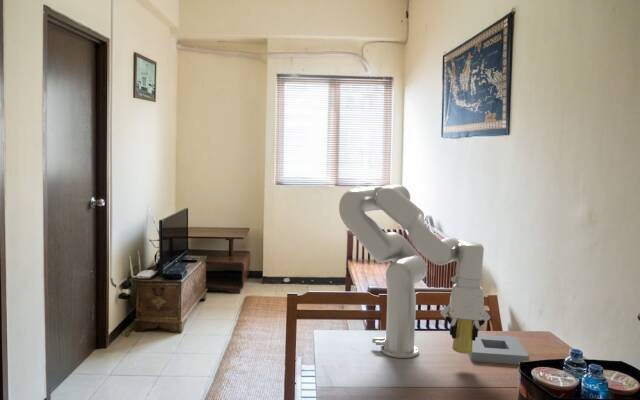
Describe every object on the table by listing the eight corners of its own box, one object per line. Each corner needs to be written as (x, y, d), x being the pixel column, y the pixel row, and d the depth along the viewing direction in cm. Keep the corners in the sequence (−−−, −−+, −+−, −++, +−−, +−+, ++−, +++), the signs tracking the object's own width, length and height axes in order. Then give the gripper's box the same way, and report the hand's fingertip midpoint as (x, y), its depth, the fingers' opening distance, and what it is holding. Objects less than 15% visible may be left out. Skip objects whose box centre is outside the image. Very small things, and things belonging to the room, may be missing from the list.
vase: (472, 355, 170) (476, 310, 168) (452, 352, 171) (456, 308, 169) (471, 347, 176) (475, 304, 174) (451, 345, 177) (455, 302, 175)
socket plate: (471, 361, 179) (471, 352, 179) (463, 341, 197) (464, 333, 197) (528, 365, 177) (529, 356, 177) (515, 344, 195) (516, 336, 195)
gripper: (441, 283, 168) (436, 339, 170) (499, 287, 166) (493, 345, 168) (438, 276, 176) (434, 331, 178) (494, 281, 174) (489, 336, 176)
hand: (463, 337), depth 173 cm, fingers closed on vase, 5 cm apart
